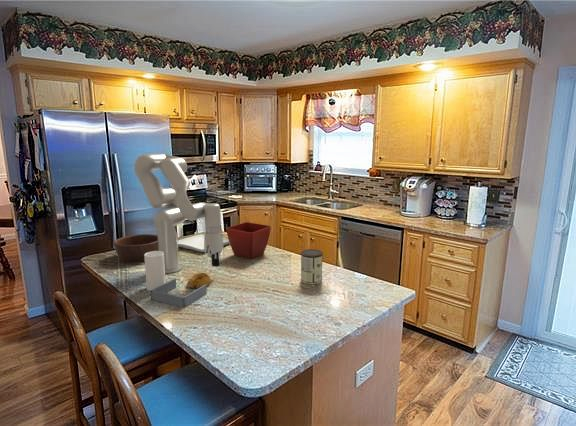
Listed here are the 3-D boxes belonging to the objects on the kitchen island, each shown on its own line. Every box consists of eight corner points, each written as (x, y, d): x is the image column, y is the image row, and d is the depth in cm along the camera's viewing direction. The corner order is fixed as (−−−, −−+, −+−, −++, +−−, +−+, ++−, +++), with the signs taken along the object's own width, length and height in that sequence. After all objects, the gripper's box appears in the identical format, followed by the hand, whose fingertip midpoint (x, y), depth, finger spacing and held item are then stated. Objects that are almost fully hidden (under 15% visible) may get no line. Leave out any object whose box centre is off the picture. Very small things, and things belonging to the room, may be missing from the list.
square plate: (202, 255, 214) (202, 249, 214) (171, 247, 229) (171, 241, 228) (233, 244, 237) (233, 238, 236) (203, 238, 251) (203, 232, 251)
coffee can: (305, 275, 183) (305, 248, 181) (324, 278, 179) (325, 250, 176) (297, 282, 174) (297, 253, 171) (317, 285, 170) (318, 256, 167)
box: (150, 299, 154) (150, 290, 153) (174, 286, 167) (174, 278, 167) (184, 307, 147) (183, 297, 146) (206, 293, 160) (206, 284, 160)
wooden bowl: (170, 256, 211) (169, 239, 209) (128, 267, 193) (126, 248, 191) (148, 248, 227) (147, 231, 225) (107, 257, 209) (106, 239, 207)
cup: (169, 285, 169) (167, 252, 166) (157, 292, 162) (155, 257, 158) (154, 282, 172) (152, 250, 169) (142, 289, 164) (140, 255, 161)
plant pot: (252, 262, 202) (251, 232, 199) (225, 256, 212) (225, 228, 209) (271, 253, 218) (271, 225, 215) (246, 248, 228) (246, 221, 225)
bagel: (183, 284, 171) (182, 274, 170) (205, 279, 177) (205, 270, 176) (191, 291, 163) (191, 281, 162) (214, 286, 169) (214, 276, 168)
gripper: (215, 225, 184) (218, 260, 187) (197, 232, 171) (200, 269, 174) (228, 226, 181) (230, 262, 184) (210, 233, 168) (213, 271, 171)
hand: (215, 265), depth 179 cm, fingers closed
